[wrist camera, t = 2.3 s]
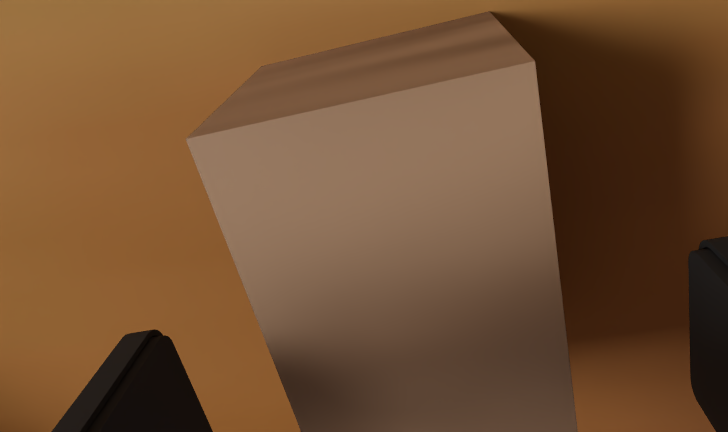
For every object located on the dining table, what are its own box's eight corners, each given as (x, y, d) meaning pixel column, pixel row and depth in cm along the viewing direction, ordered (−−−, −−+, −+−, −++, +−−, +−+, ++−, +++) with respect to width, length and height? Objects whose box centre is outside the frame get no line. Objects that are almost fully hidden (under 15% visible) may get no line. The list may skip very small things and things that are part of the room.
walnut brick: (262, 65, 13) (185, 139, 8) (488, 10, 12) (535, 61, 8) (351, 345, 16) (330, 504, 12) (532, 318, 15) (583, 477, 11)
